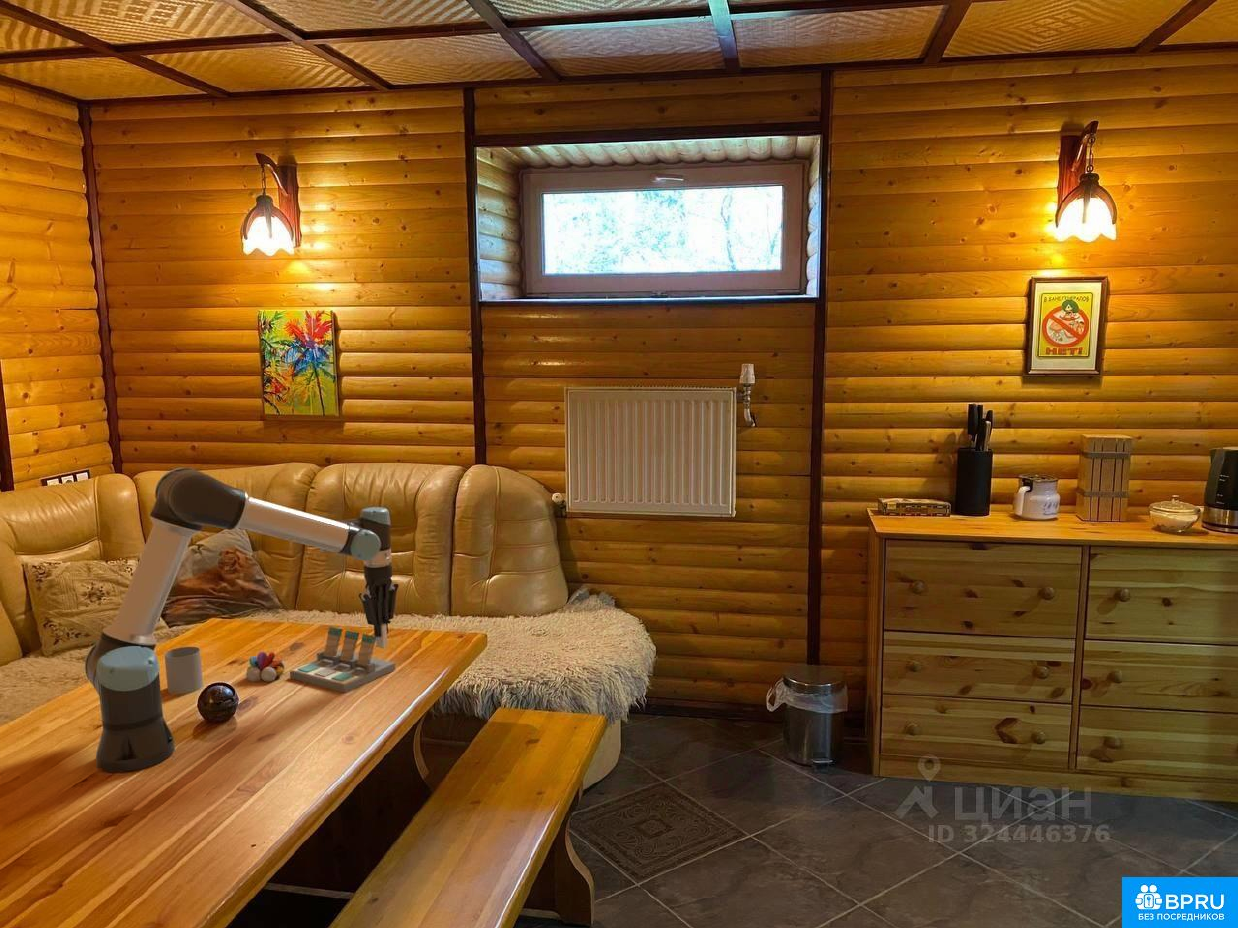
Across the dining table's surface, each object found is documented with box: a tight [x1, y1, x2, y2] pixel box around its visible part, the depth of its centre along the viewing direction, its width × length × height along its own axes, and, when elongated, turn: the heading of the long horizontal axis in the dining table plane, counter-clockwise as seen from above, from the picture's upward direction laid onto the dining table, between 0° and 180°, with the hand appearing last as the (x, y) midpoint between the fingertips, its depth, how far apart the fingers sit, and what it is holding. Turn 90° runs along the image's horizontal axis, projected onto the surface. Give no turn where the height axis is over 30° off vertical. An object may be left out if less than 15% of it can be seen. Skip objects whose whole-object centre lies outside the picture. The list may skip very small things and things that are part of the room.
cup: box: [164, 646, 204, 696], centre depth 230 cm, size 8×8×10 cm
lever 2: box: [338, 630, 360, 665], centre depth 240 cm, size 1×4×9 cm, turn 60°
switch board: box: [289, 649, 396, 694], centre depth 239 cm, size 18×21×4 cm
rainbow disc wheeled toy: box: [245, 651, 286, 683], centre depth 237 cm, size 8×10×7 cm
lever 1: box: [322, 626, 344, 661], centre depth 243 cm, size 1×4×9 cm, turn 60°
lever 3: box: [355, 633, 376, 669], centre depth 237 cm, size 1×4×9 cm, turn 60°
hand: (382, 646), depth 242 cm, fingers closed
